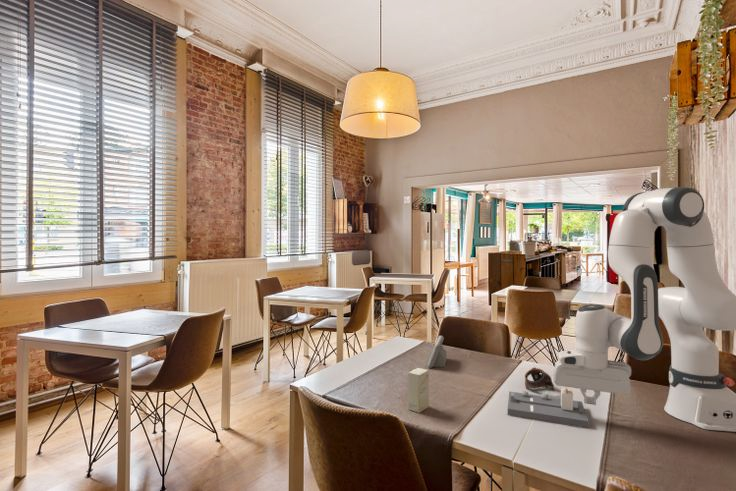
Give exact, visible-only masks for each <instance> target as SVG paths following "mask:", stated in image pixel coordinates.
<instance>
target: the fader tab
mask: <svg viewBox="0 0 736 491" xmlns="http://www.w3.org/2000/svg"><path fill="white" fill-rule="evenodd" d="M560 399H561V408H562V409H564V410H571V411H573V400H574V394H573V390H572V389H571V388H570V389H569V388H568V387H563V388H560Z"/></svg>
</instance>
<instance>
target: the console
mask: <svg viewBox="0 0 736 491" xmlns="http://www.w3.org/2000/svg"><path fill="white" fill-rule="evenodd" d="M507 416H512V417H518V418H525V419H532V420H537V421H543V422H549V423H555V424H561V425H567V426H574V427H580V428H586V429H589V419H588V416H587V413H586V410H585V407H584V404H583V401H580V400H574V399H573V411H571V410H564V409H562V408H561V397H560V398H559V397H558V398H557V397H554V396H553V397H552V396H551V397H550V396H549V395H548V394H546V393H541V395H538V394H529V392H528V391H526V390H523V391H521V392H517V391H509V394H508V400H507Z"/></svg>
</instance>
